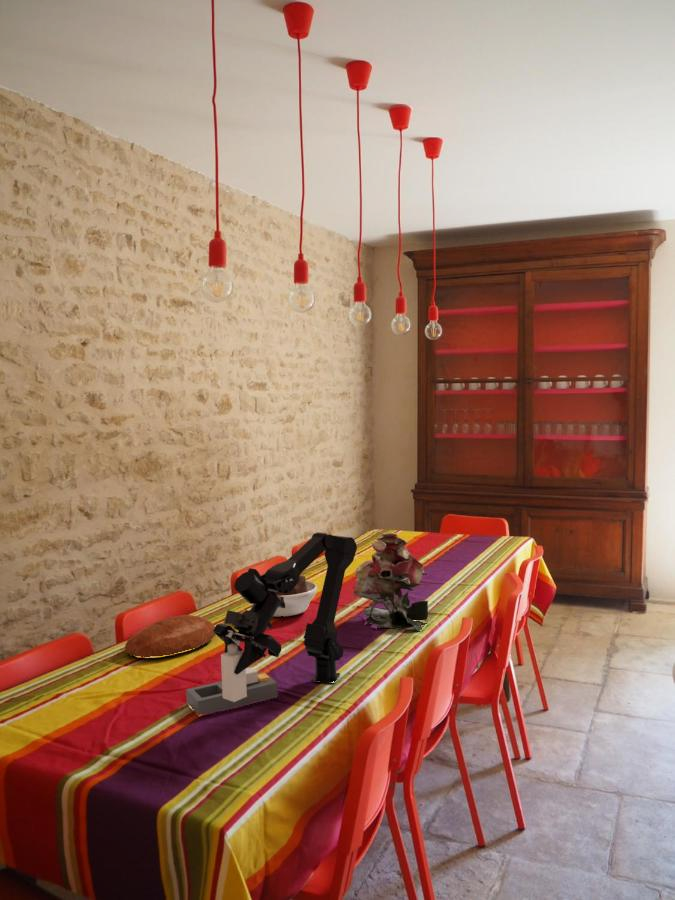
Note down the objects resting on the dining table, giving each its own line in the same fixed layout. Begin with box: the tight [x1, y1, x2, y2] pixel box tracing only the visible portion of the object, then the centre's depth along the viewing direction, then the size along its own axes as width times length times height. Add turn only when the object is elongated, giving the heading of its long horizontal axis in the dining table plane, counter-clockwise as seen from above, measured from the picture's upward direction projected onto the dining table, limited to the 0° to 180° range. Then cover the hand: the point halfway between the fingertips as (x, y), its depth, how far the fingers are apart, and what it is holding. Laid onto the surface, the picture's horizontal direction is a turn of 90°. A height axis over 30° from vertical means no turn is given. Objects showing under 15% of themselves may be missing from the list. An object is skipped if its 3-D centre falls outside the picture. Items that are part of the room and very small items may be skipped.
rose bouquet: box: [352, 532, 429, 632], centre depth 252 cm, size 26×29×30 cm
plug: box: [220, 644, 247, 702], centre depth 173 cm, size 4×4×12 cm
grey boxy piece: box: [185, 666, 279, 715], centre depth 186 cm, size 21×9×7 cm, turn 120°
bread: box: [124, 614, 217, 657], centre depth 232 cm, size 23×32×9 cm
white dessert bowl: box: [269, 575, 318, 617], centre depth 264 cm, size 25×25×15 cm
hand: (229, 671), depth 172 cm, fingers closed on plug, 4 cm apart
